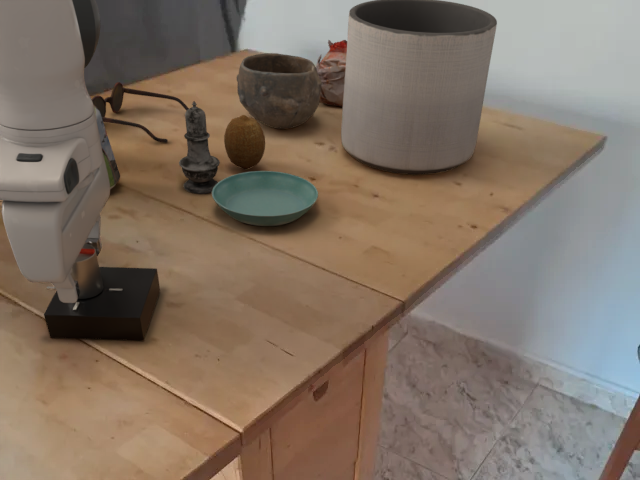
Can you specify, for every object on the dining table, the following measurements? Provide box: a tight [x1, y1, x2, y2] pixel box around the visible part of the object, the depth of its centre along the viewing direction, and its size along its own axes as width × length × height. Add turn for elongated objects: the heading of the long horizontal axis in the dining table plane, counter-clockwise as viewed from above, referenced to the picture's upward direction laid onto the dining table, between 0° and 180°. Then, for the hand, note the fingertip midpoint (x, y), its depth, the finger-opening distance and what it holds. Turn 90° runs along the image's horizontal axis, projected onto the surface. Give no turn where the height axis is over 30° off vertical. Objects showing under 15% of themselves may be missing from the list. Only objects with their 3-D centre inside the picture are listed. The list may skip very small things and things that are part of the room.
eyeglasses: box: [91, 81, 190, 144], centre depth 118 cm, size 15×15×5 cm
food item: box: [315, 39, 347, 108], centre depth 130 cm, size 14×8×10 cm, turn 169°
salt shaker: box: [178, 100, 221, 195], centre depth 98 cm, size 6×6×12 cm
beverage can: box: [94, 106, 121, 190], centre depth 96 cm, size 6×7×12 cm
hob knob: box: [71, 244, 103, 299], centre depth 73 cm, size 4×4×5 cm
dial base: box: [43, 266, 161, 342], centre depth 76 cm, size 11×10×3 cm
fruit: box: [223, 114, 266, 170], centre depth 104 cm, size 6×6×8 cm
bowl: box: [236, 52, 322, 130], centre depth 118 cm, size 14×15×10 cm
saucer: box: [211, 170, 319, 227], centre depth 96 cm, size 15×15×3 cm
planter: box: [340, 0, 498, 176], centre depth 107 cm, size 22×22×20 cm
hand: (82, 275), depth 74 cm, fingers open, 8 cm apart
